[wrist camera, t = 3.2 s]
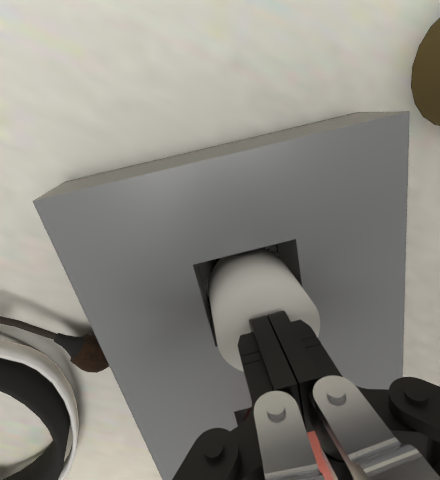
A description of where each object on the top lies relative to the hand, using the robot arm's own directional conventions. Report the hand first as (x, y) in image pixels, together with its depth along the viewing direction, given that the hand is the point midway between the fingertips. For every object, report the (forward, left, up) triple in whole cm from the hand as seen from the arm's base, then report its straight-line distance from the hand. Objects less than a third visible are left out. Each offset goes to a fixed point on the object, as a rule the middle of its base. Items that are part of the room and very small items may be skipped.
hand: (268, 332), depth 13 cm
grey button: (0, 0, -4) cm, 4 cm away
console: (0, +5, -7) cm, 9 cm away
